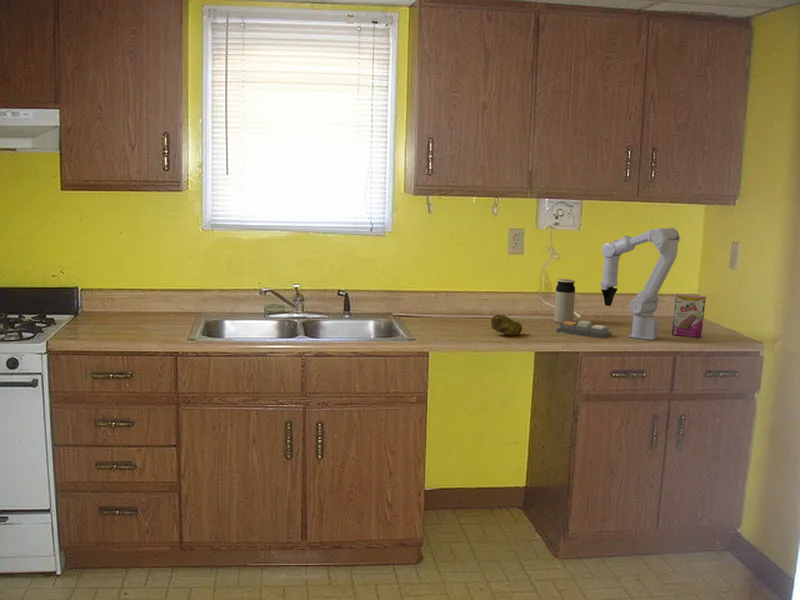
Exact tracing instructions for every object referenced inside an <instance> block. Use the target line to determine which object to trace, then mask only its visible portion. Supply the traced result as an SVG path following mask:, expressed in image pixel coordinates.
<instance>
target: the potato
mask: <svg viewBox="0 0 800 600" xmlns="http://www.w3.org/2000/svg"><path fill="white" fill-rule="evenodd" d="M490 324H491V329H492V330H494V331H495V332H498V333H501V334H503V335H505V336H516V335H519V334H521V333H522V331H523V325H522V324H521V323H519V322H518V321H515V320H514V319H511V318H510V317H508V316H507V315H505V314H495V315H493V316H492V318H491V320H490Z"/></svg>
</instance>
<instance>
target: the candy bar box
mask: <svg viewBox="0 0 800 600" xmlns="http://www.w3.org/2000/svg"><path fill="white" fill-rule="evenodd" d="M706 300H707V296H703V295H695V294H684V293H676V295H675V302H674V312H673V321H672V332H671V335H672V336H675V337H676V336H677V337H684V338H685V337H686V338H694V339H701V338H702V337H703V329H704V321H705V320H704V319H705V318H704V317H705V310H706V309H705V308H706Z"/></svg>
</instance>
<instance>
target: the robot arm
mask: <svg viewBox="0 0 800 600" xmlns="http://www.w3.org/2000/svg"><path fill="white" fill-rule="evenodd" d="M680 241H681V236H680V235H679V231H678V230H677V229H676V228H675V227H668V228H667V227H666V228H665V227H664V228H659V227H658V228H654V229H649V230H647V231H645V232H642V233H641V234H638V235H636V236H634V237H631V236H628V235H623V236H622V238H620V239H614V240H613V241H612V242H605V243H604V244H603V245H602V247H601V254H602V255H603V267H602V268H603V269H602V270H603V271H602V281H601V282H599V285H601V287H600V291H601V293H602V296H603V301H604V305H605V307H606V306H607V307H612V304H613V301H614V298H615V294H616V293H617V291H618V288H617V287H618V274H619V261H620V258H621V255H623V254H625V253H628V252H631V251H634V250H635V249H636V246H638V245H641V244H644V243H645V244H646V243H648V242H651V243H652V244H653V246H654V247H655V248H656V250H657V251H658V253H659V255H660V256H659V258H658V260H657V261H656V264H655V265H654V268H653V270H652V271H651V274H650V275H649V278H648V279H647V282H646V283H645V286H644V288H643V289H642V290H641V291H640V292H639V293H637V294H636V296H635V298H633V299H632V300H631V302H630V304H629V308H630V311H631V313H632V325H631V326H632V327H631V328H632V329H631V333H630V334H629V335H628V336H627V337H628V338H635V339H642V340H648V339H649V340H650V341H653V340H655V339H657V338H659V335H658V332H659V324H660V322H659V317H658V316H655V315H654V312H656V310H657V308H658V302H659V300H660V298H659V296H658V294H659V292H660V290H661V288H662V286H663V284H664V283H665V280H666V278H667V276H668V274H669V272H670V271H671V269H672V267H673V265H674V262H675V261H676V259H677V256H678V247H679V242H680Z"/></svg>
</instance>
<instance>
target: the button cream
mask: <svg viewBox="0 0 800 600" xmlns="http://www.w3.org/2000/svg"><path fill="white" fill-rule="evenodd" d="M592 328H595V329H605V328H606V325H600V324H594V325H592Z"/></svg>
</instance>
